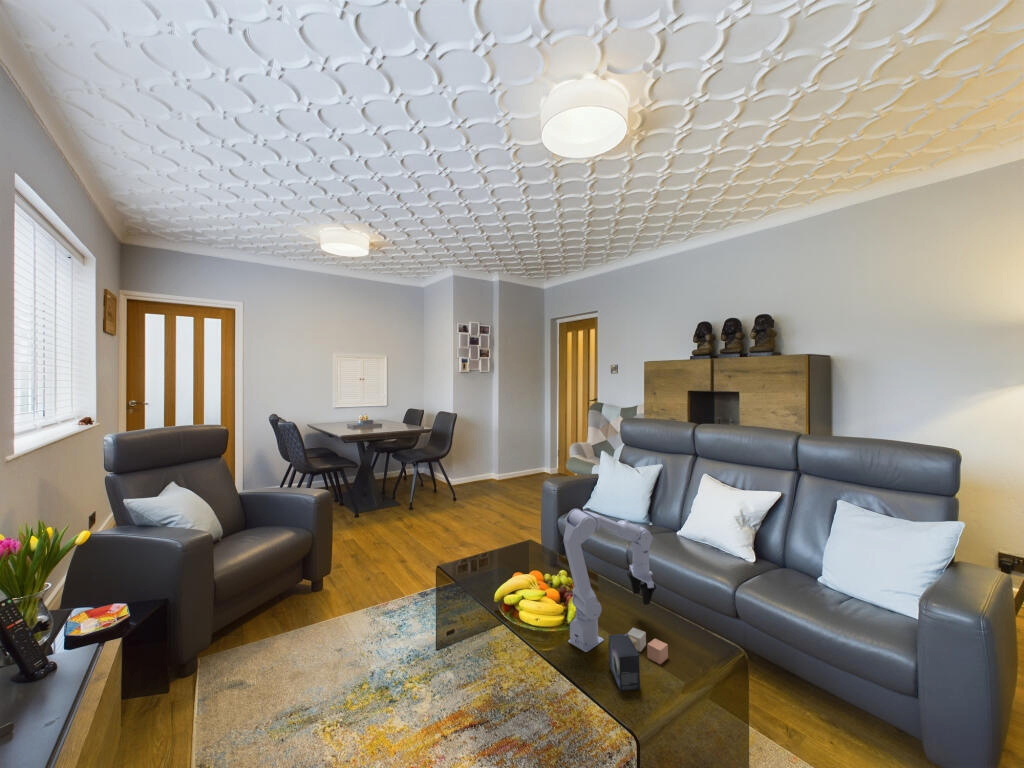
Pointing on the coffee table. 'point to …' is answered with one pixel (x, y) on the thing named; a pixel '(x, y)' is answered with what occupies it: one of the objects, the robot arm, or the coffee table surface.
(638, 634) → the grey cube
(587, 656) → the coffee table surface
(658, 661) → the terracotta cube
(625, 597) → the coffee table surface
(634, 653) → the small box
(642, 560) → the robot arm
